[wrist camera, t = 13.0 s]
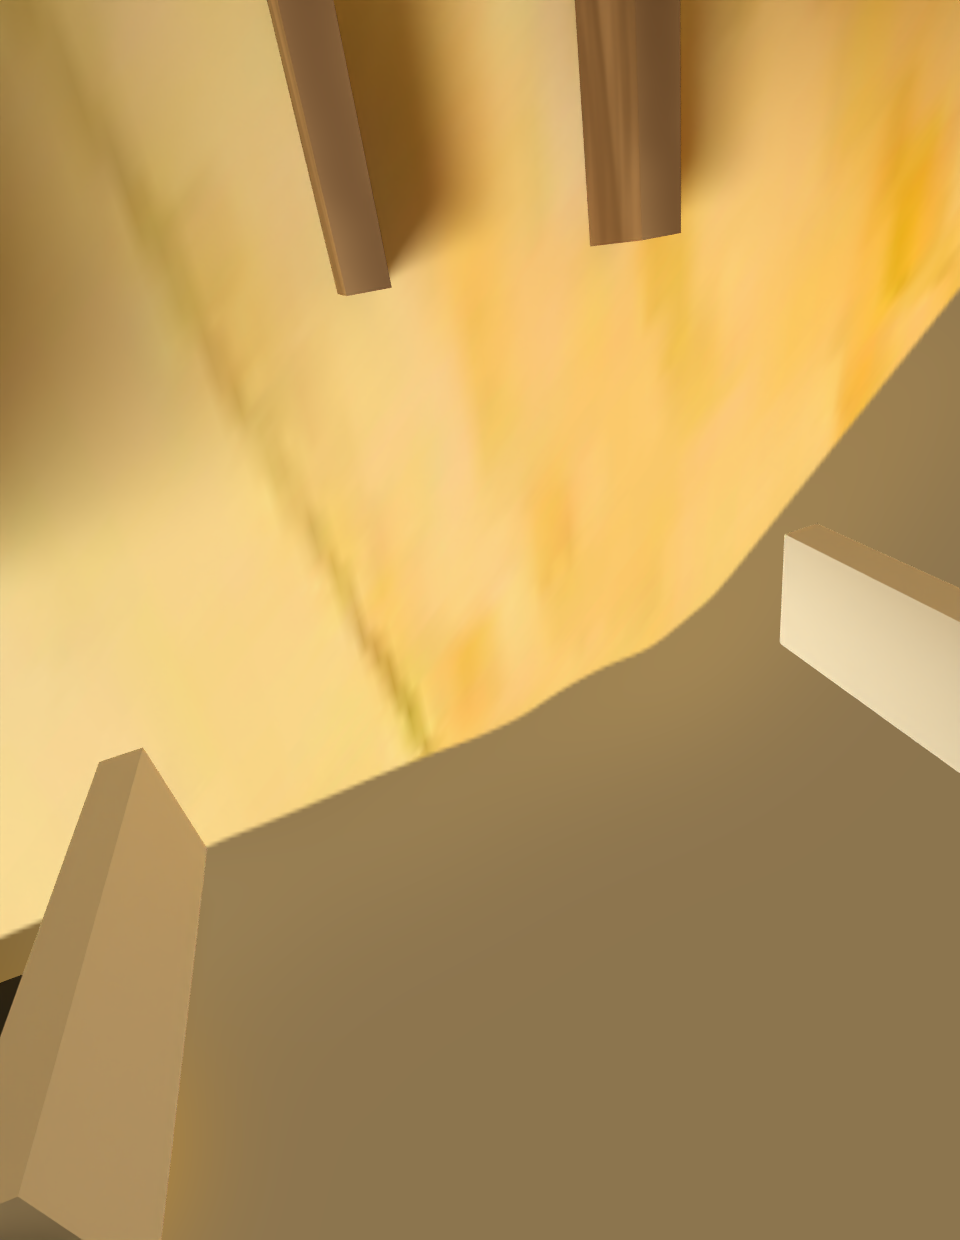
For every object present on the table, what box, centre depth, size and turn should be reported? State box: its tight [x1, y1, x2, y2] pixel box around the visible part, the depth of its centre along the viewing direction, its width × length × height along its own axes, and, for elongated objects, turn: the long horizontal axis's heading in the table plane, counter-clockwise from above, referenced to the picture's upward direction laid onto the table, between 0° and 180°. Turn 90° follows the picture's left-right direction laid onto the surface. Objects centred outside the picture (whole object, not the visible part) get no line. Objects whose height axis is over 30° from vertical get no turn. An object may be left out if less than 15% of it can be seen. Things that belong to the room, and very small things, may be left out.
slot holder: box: [267, 0, 681, 296], centre depth 29 cm, size 16×12×6 cm
